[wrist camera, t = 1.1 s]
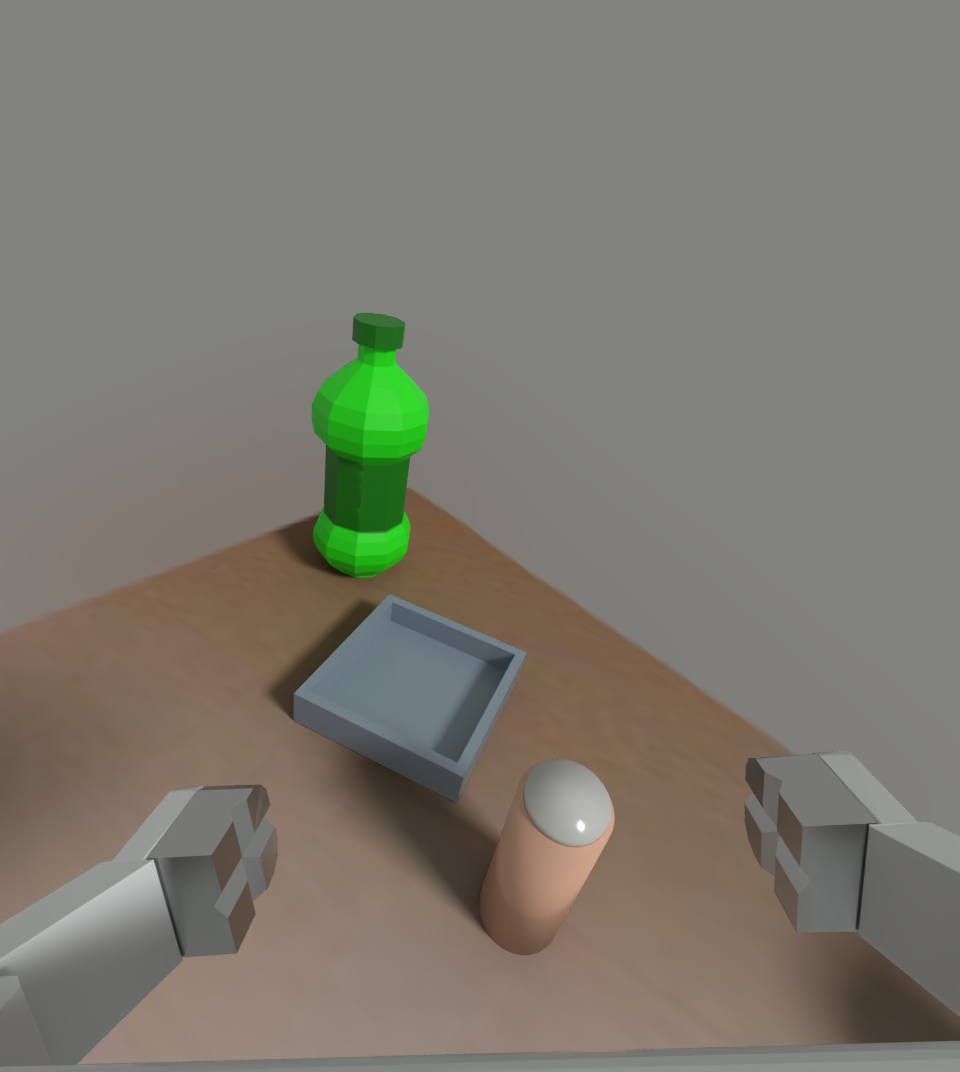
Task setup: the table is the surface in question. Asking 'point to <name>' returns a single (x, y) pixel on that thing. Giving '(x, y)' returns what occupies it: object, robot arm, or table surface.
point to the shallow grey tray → (412, 694)
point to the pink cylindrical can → (544, 854)
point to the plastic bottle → (368, 451)
